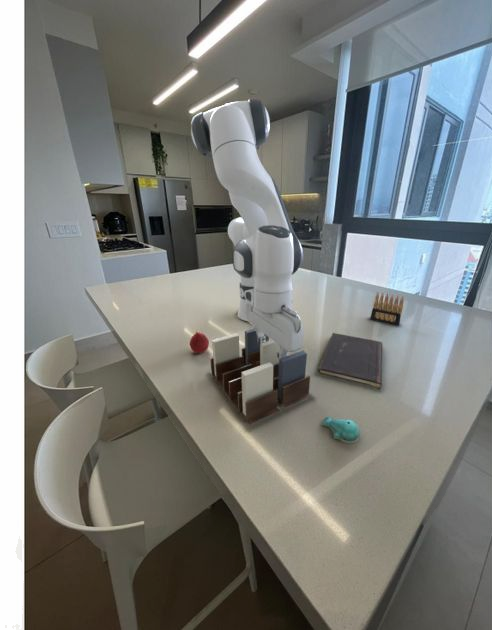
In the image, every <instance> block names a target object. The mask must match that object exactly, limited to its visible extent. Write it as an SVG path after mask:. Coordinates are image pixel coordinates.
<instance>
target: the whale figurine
mask: <svg viewBox="0 0 492 630" xmlns="http://www.w3.org/2000/svg"><path fill="white" fill-rule="evenodd" d="M321 425H322V426H323V427H326V428H329V429H330V430H331V431H332V433H333V435H332V437H333V439H335V440H340V441H341V442H343V443H346V444H354V443H356V442H357V441H358V440H359V439H360V428H359V427H358V424H357V423H355V422H354V421H353V420H351V419H346V418H345V419H339V418H338V419H337V418H336V419H332V417H331V416H326V418H325V420H324V421H322V423H321Z"/></svg>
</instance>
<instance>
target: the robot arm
mask: <svg viewBox="0 0 492 630" xmlns="http://www.w3.org/2000/svg"><path fill="white" fill-rule="evenodd" d="M270 126H271V121H270V115H269V112H268V110H267V108H266V106H265V103H264V102H263V101H262V100H261V99H260V98H248V100H239V101H233V102H229V103H228V102H227V103H225V104H224V105H221V106H218V107H214V108H211V109H209V110H207V111H205V112H203V111H201V112H199V113H197V114H196V115H194V116H193V117H192V119H191V122H190V135H191V140H192V142H193V145H194V146H195V148H196V150H197V151H198V153H199V154H200V155H202V156H203V157H204V158H212V162H213V167H214V171H215V174H216V177H217V180H218V182H219V183H220V184H221V186H222V187H224V189H225V190H227V191H228V195H229V200H230V203H231V205H232V206H233V207H234V209H236V211H237V212H238V214H239V217H236V218H234V219H232V220H231V221H230V222H229V224H228V226H227V235H228V237H229V239H230V241H231V243H232V244H233V245H234V248H233V250H232V266H233V270H234V271H235V273H237V274H238V275H239V280H240V281H239V297H240V298H239V307H238V312H237V317H238V319H240V320H241V321H244V322H248V323H249V324H251V326H253V327H254V328H255V331H256V334H257V336H258V342H259V343H260V344H261V343H264V342H266V337H265V336H264V334H265V335H266V336H268V337H269V340H273V341H274V342H276V343H277V344H278V345H280V349H281V351H279V352H277V358H278V359H280V358H283V357H286V356H288V353H293V352H298V351H300V350H301V349H302V348H303V346H304V327H303V322H302V319H301V318H300V315H299V314H298V312H297V311H296V310H293V309H291V308H292V298H293V297H292V296H293V283H292V275H294V274H295V273H296V272H297V271H298V270H299V269H300V267H301V266H302V263H303V260H304V250H303V247H302V244H301V241H300V240H299V238H298V237H297V235H296V233H295V231H294V227H293V225H292V223H291V220H290V216H289V214H288V211H287V208H286V205H285V202H284V200H283V197H282V195H281V191H280V190H279V186H278V185H277V182H276V181H275V179H274V178H273V177H272V176H271V175H270V174H269V173H268V172H267V170H266V168H265V167H264V166H263V164H262V162H261V160H260V158H259V154H258V152H257V150H259V149H260V146H261V145H263V144H264V143H266V140H267V139H268V137H269V135H270V134H269V133H270V128H271V127H270Z"/></svg>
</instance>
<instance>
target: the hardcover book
mask: <svg viewBox="0 0 492 630" xmlns="http://www.w3.org/2000/svg"><path fill="white" fill-rule="evenodd" d="M318 370H319V373H321V374H324V375H325V374H326V375H330V376H334V377H338V378H341V379H346V380H349V381H354V382H359V383H361V384H362V383H363V384H367V385H370V386H373V387H374V388H376V389H377V390H381V389H382V386H383V342H382V341H379V340H373V339H369V338H364V337H358V336H353V335H352V336H351V335H347V334H342V333H335V332H333V333H332V334H331V337H330V339H329V342H328V345H327V347H326V349H325V352H324V354H323V357H322V359H321V362H320V364H319V367H318Z"/></svg>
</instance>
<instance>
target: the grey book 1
mask: <svg viewBox="0 0 492 630" xmlns="http://www.w3.org/2000/svg"><path fill="white" fill-rule="evenodd" d="M264 336H265V337H266V342H267V341H270V338H269V337H268V336H266V335H265V334H264ZM244 348H245V359H246V365H248V354H250V353H253V352H256V351H259V350H260V343H259V342H258V336H257V334H256V331H255V327H253V328H251V329H247V330H244Z"/></svg>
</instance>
